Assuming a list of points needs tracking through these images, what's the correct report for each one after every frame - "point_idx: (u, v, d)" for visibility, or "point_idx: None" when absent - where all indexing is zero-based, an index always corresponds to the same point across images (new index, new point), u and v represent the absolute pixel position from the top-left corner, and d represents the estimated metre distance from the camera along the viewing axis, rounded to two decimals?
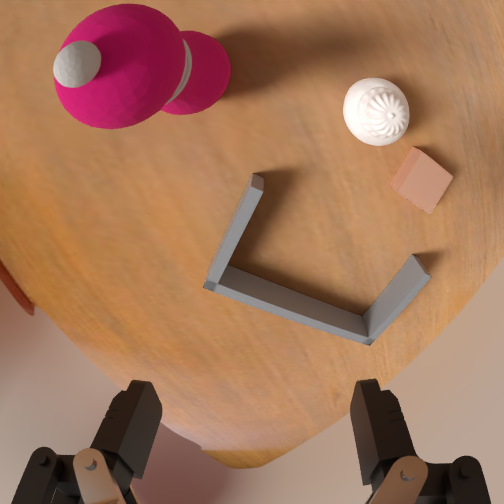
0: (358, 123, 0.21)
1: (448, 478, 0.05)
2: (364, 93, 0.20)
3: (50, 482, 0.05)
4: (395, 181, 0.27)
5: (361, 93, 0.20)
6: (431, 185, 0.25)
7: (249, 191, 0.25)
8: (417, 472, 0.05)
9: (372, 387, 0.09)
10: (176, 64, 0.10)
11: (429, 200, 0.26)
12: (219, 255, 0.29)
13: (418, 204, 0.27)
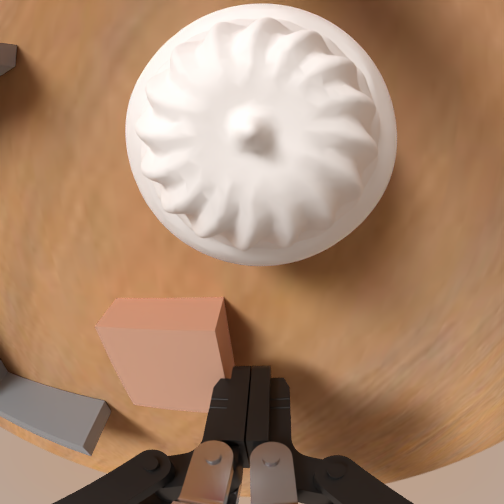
0: (152, 76, 0.05)
1: (319, 486, 0.06)
2: (282, 21, 0.04)
3: (146, 491, 0.06)
4: (124, 306, 0.12)
5: (275, 16, 0.04)
6: (173, 384, 0.11)
7: None
8: (278, 459, 0.07)
9: (262, 372, 0.10)
10: None
11: (149, 394, 0.12)
12: None
13: (123, 378, 0.11)
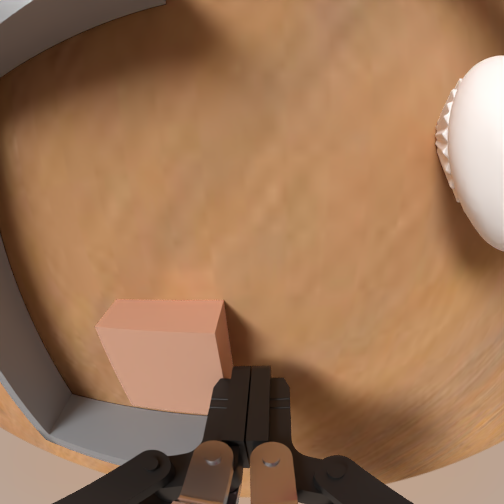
0: None
1: (319, 486, 0.06)
2: None
3: (146, 491, 0.06)
4: (124, 307, 0.12)
5: None
6: (172, 386, 0.11)
7: None
8: (278, 459, 0.07)
9: (262, 373, 0.10)
10: None
11: (147, 395, 0.12)
12: None
13: (121, 378, 0.11)
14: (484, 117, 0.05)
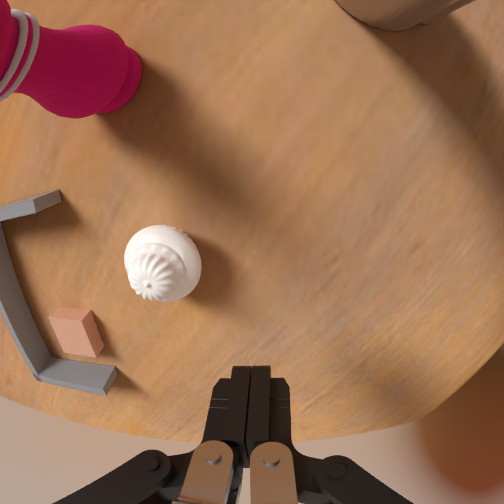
0: (129, 255, 0.20)
1: (319, 486, 0.06)
2: (157, 243, 0.20)
3: (145, 491, 0.06)
4: (59, 310, 0.28)
5: (156, 240, 0.20)
6: (74, 342, 0.27)
7: (29, 201, 0.19)
8: (278, 459, 0.07)
9: (262, 373, 0.10)
10: None
11: (68, 346, 0.28)
12: None
13: (59, 339, 0.27)
14: (125, 261, 0.21)
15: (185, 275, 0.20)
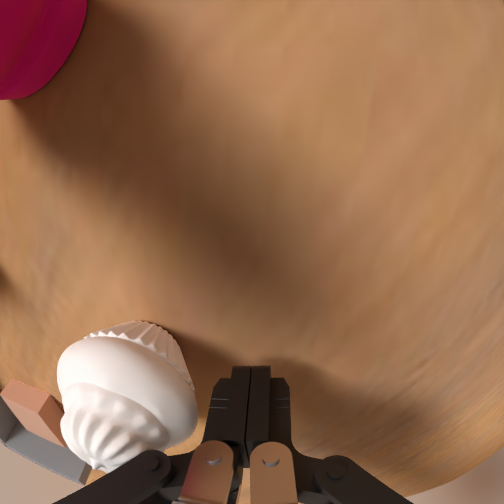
0: (61, 390, 0.08)
1: (319, 486, 0.06)
2: (104, 390, 0.08)
3: (146, 491, 0.06)
4: (13, 385, 0.16)
5: (101, 383, 0.08)
6: (36, 427, 0.16)
7: None
8: (278, 459, 0.07)
9: (262, 373, 0.10)
10: None
11: (29, 427, 0.16)
12: None
13: (17, 417, 0.16)
14: (60, 391, 0.09)
15: (167, 439, 0.09)
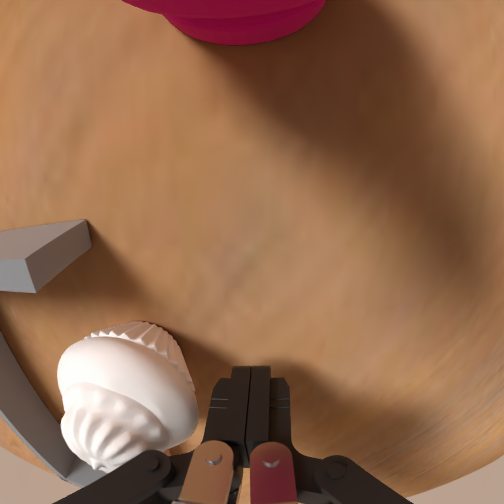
0: (62, 390, 0.08)
1: (319, 486, 0.06)
2: (105, 389, 0.08)
3: (146, 491, 0.06)
4: None
5: (102, 383, 0.08)
6: None
7: (17, 262, 0.07)
8: (278, 459, 0.07)
9: (262, 373, 0.10)
10: None
11: None
12: None
13: None
14: (60, 391, 0.09)
15: (168, 439, 0.09)
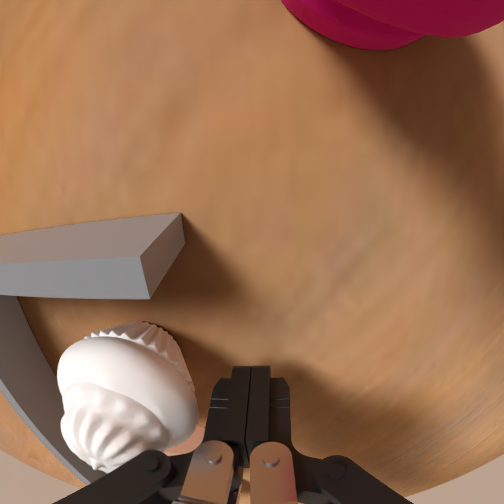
0: (62, 390, 0.08)
1: (319, 486, 0.06)
2: (105, 389, 0.08)
3: (146, 491, 0.06)
4: None
5: (102, 383, 0.08)
6: None
7: (123, 261, 0.07)
8: (278, 459, 0.07)
9: (262, 373, 0.10)
10: None
11: None
12: None
13: None
14: (60, 390, 0.09)
15: (168, 439, 0.09)
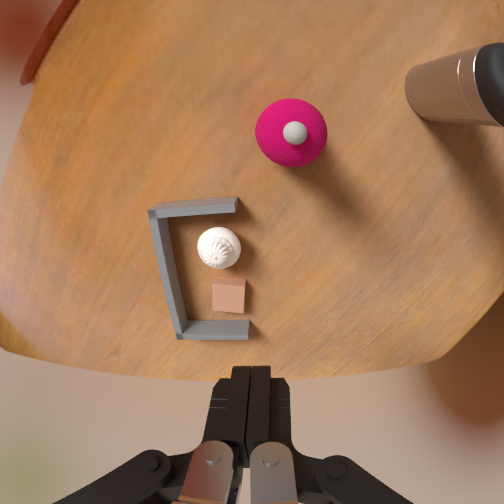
0: (202, 242, 0.40)
1: (319, 486, 0.06)
2: (220, 236, 0.39)
3: (146, 491, 0.06)
4: (218, 279, 0.47)
5: (219, 235, 0.39)
6: (229, 301, 0.46)
7: (230, 204, 0.38)
8: (278, 460, 0.07)
9: (262, 373, 0.10)
10: (303, 165, 0.24)
11: (220, 305, 0.47)
12: (178, 208, 0.39)
13: (213, 300, 0.46)
14: (198, 246, 0.41)
15: (233, 254, 0.40)
